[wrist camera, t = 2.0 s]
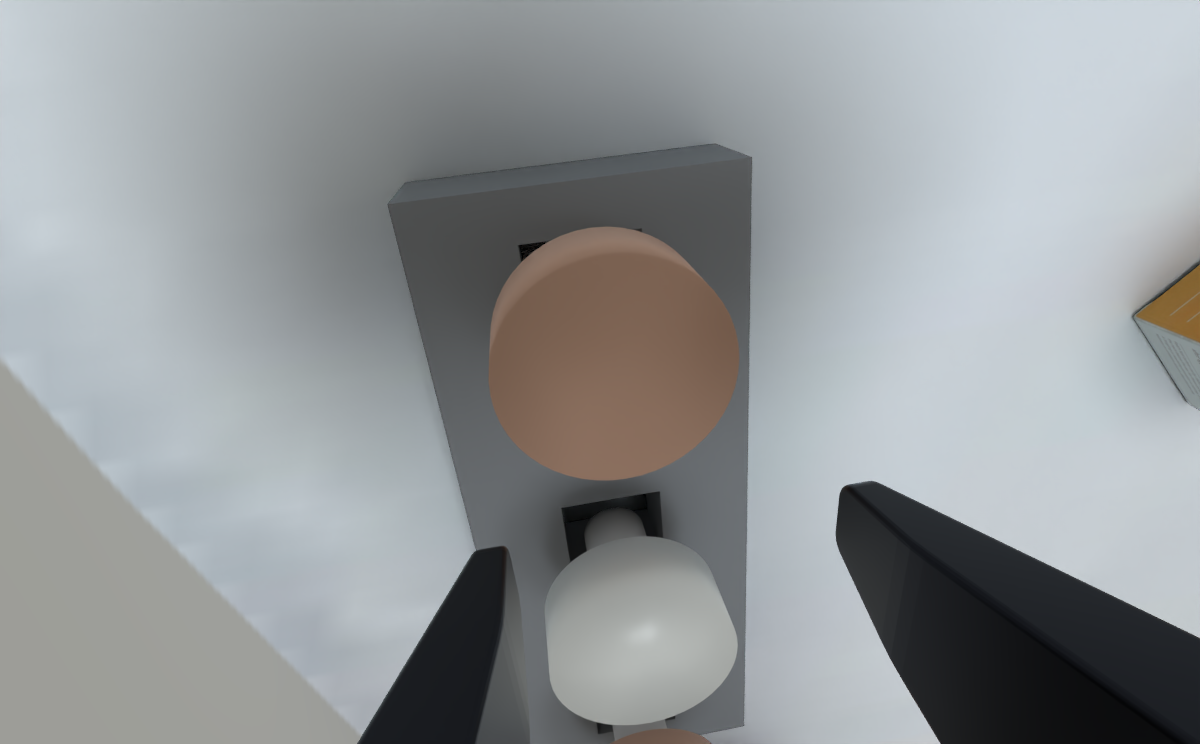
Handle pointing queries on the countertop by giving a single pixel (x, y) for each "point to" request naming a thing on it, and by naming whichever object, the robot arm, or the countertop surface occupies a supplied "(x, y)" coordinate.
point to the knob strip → (479, 442)
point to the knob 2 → (654, 734)
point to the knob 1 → (609, 355)
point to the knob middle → (635, 626)
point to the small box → (1177, 333)
